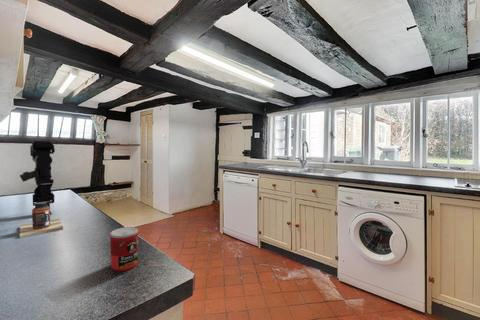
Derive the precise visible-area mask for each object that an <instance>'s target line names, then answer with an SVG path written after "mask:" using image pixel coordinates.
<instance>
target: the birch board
mask: <svg viewBox="0 0 480 320" xmlns="http://www.w3.org/2000/svg"><path fill="white" fill-rule="evenodd" d="M62 230H64V226H63V224H62V222H61V220H60V218H53V219H51V218H50V226H49V227H46V228H42V229H33V223H32V222H29V223H23V224H22V223H21V224H20V225H19V239H24V238H27V237H33V236H38V235H43V234H48V233H53V232H59V231H62Z"/></svg>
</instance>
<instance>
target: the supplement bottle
mask: <svg viewBox="0 0 480 320" xmlns="http://www.w3.org/2000/svg"><path fill="white" fill-rule="evenodd" d="M34 203H35V205H34V207H33V208H32V209H31V218H32V219H31V221H32V222H31V223H33V229H42V228H46V227H49V226H50V220H51V215H50V211H51V207H50V208H49V207H48V206H47V202H38V203H36V202H34Z"/></svg>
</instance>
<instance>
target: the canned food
mask: <svg viewBox="0 0 480 320" xmlns="http://www.w3.org/2000/svg"><path fill="white" fill-rule="evenodd" d="M138 230H139V229H138V228H137V227H133V226H125V227H120V228H117V229H113V230H112V231H111V232H110V233H109V234H110V235H109V239H110V240H109V241H110V244H109V245H110V267H111V270H113V271H114V272H125V271H129V270H131V269H133V268H136V266H137V265H138V264H139V233H138Z"/></svg>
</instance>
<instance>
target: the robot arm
mask: <svg viewBox="0 0 480 320" xmlns="http://www.w3.org/2000/svg"><path fill="white" fill-rule="evenodd" d="M29 148H30V154H29V155H30V157H31V158H32V161H33V162H34V163H35V167H34V170H32V171H24V172H22V173H21V174H20V175H19V177H20V179H21V181H22V182H26V181H28V180H32V179H34V181H35V185H36V187H35V188H34V192H33V193H34V194H32V206H33V207H35V203H38V202H47V206H48V207H49V208H50V209H51V204H54V203H55V194H54V192H52V187H53V185H54V178H53V176H52V163H53V158H52V156H51V155H53V154H54V153H55V151H56V150H55V145H54V143H53V142H51V140H47V139H46V140H45V139H34V140H33V141H32V142H31V145H30V146H29ZM51 215H52V211H51V210H50V216H51Z"/></svg>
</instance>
